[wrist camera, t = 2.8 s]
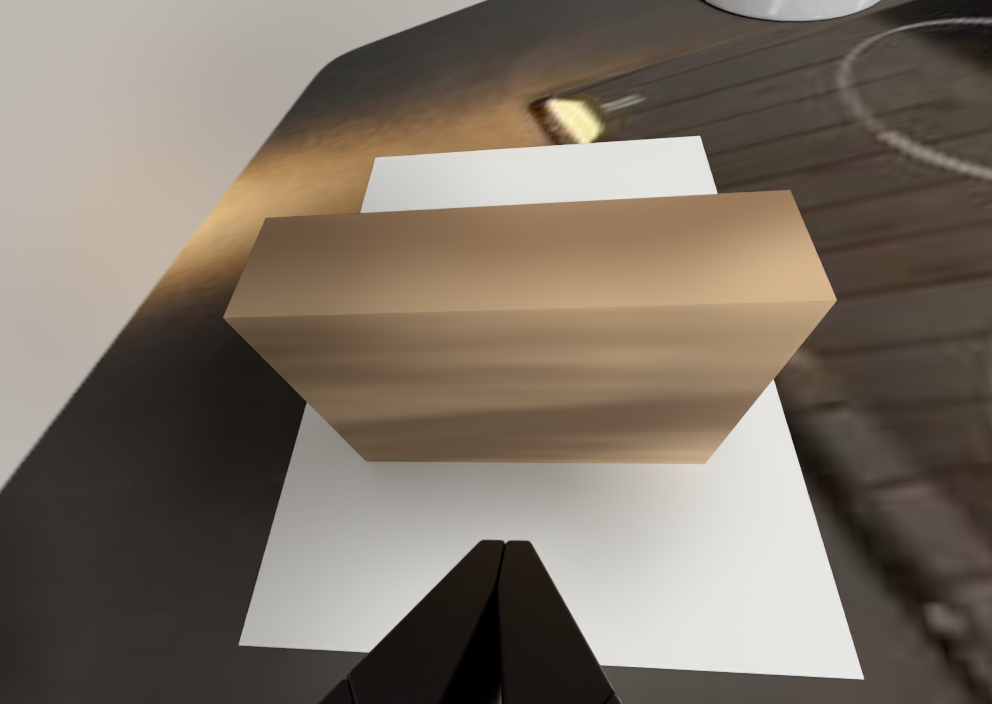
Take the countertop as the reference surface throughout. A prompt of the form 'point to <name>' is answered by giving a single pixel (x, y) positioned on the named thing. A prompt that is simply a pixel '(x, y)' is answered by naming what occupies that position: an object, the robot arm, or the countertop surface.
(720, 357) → the oak board
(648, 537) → the mat
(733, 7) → the utensil holder
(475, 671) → the robot arm
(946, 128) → the countertop surface
